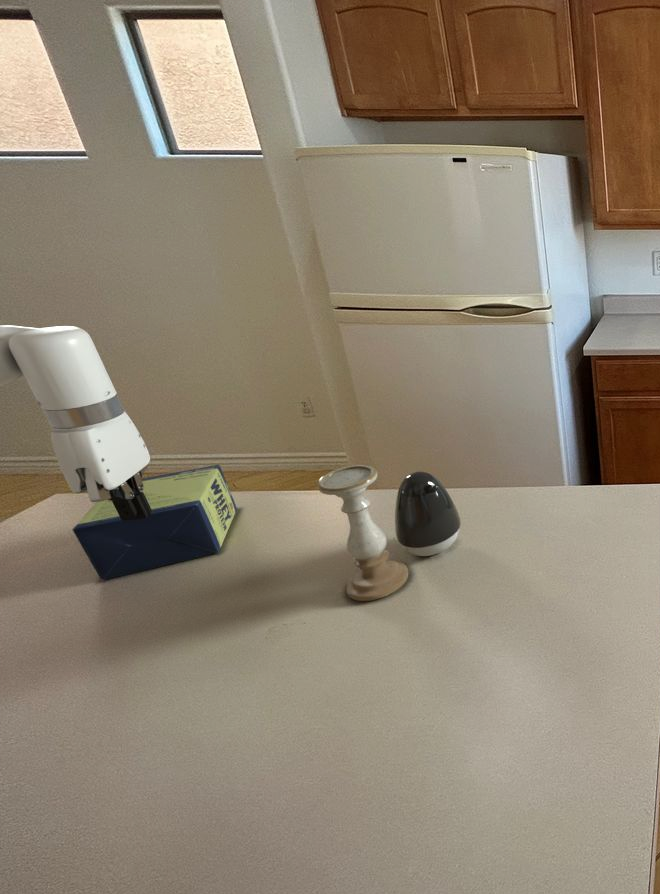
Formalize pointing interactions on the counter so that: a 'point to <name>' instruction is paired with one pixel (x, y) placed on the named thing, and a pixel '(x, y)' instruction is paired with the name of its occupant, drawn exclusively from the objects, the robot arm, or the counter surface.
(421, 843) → the counter surface
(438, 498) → the dark grey egg shape
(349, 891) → the counter surface
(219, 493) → the protein box
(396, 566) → the candle holder
